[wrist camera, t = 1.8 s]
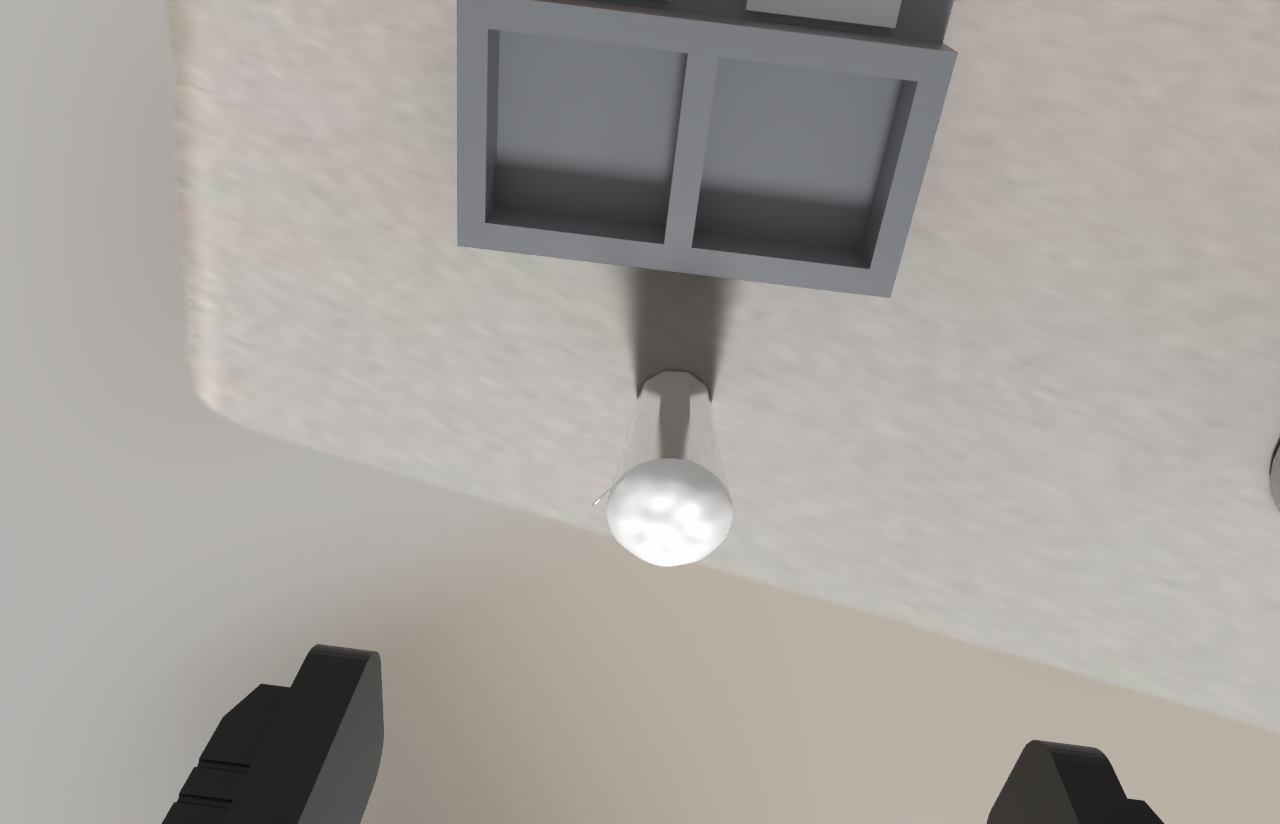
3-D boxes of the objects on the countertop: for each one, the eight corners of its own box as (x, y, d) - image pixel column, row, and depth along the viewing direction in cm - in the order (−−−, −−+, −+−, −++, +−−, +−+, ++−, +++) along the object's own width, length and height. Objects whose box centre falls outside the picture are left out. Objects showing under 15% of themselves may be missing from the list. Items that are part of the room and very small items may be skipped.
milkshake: (651, 324, 37) (638, 458, 28) (747, 396, 38) (762, 543, 30) (587, 396, 39) (556, 541, 30) (680, 462, 40) (676, 618, 31)
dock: (961, -59, 29) (987, -54, 26) (875, 267, 35) (890, 297, 32) (478, -119, 29) (456, -120, 26) (475, 219, 35) (457, 245, 32)
